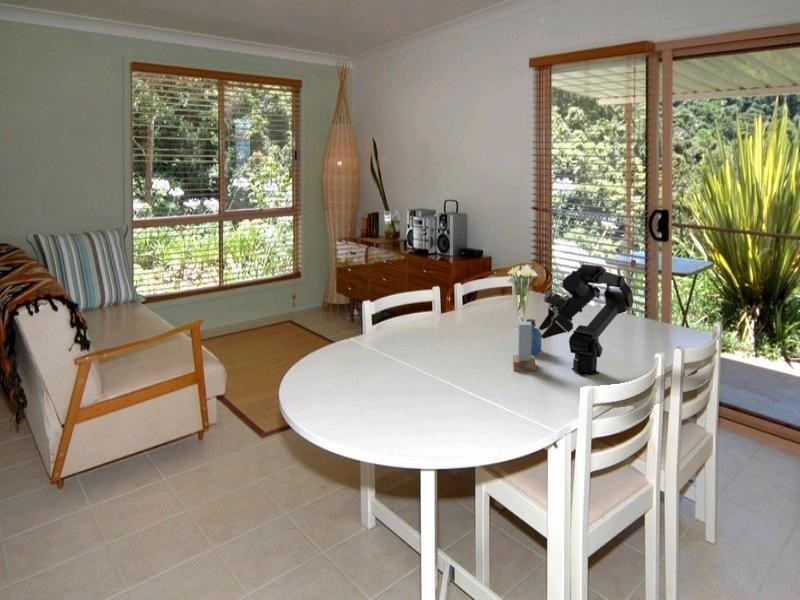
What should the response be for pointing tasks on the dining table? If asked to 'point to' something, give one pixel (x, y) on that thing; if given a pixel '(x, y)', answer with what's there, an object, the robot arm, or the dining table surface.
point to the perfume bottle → (535, 338)
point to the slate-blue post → (524, 341)
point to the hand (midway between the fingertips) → (540, 333)
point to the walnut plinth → (523, 364)
